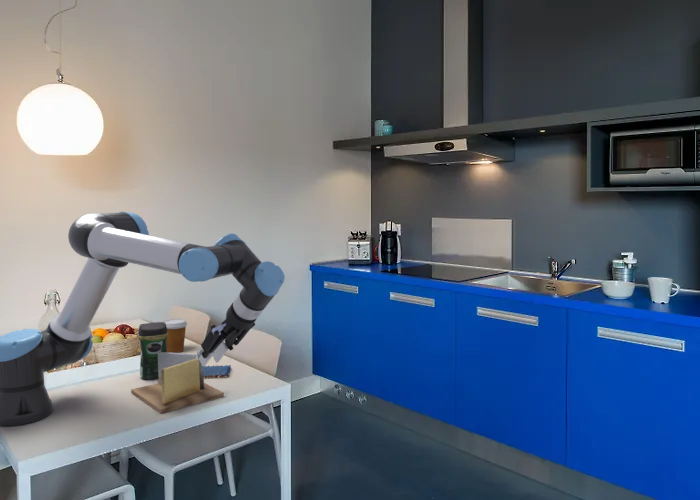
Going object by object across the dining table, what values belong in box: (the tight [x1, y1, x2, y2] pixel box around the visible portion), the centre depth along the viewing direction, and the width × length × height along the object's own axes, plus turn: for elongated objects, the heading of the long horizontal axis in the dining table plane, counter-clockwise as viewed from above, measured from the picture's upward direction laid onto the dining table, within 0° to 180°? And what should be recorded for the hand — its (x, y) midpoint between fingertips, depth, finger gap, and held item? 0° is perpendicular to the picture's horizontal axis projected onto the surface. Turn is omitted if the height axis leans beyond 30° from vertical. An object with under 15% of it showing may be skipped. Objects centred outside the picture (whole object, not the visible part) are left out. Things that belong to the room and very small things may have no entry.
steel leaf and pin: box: [158, 348, 205, 390], centre depth 177 cm, size 16×3×14 cm, turn 77°
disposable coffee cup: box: [162, 318, 188, 353], centre depth 221 cm, size 10×10×12 cm
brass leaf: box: [161, 358, 200, 404], centre depth 167 cm, size 13×1×10 cm, turn 147°
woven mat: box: [204, 364, 232, 380], centre depth 193 cm, size 10×11×2 cm
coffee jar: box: [137, 321, 168, 380], centre depth 190 cm, size 10×8×19 cm
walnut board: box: [130, 382, 225, 414], centre depth 173 cm, size 20×22×1 cm
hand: (208, 360), depth 156 cm, fingers open, 4 cm apart
